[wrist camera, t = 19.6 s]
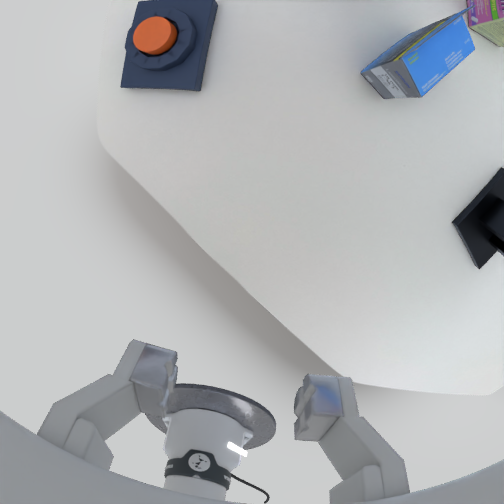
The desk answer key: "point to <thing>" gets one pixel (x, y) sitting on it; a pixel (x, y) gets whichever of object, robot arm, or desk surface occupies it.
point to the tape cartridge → (421, 58)
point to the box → (488, 19)
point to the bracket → (484, 222)
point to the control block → (180, 54)
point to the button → (155, 35)
